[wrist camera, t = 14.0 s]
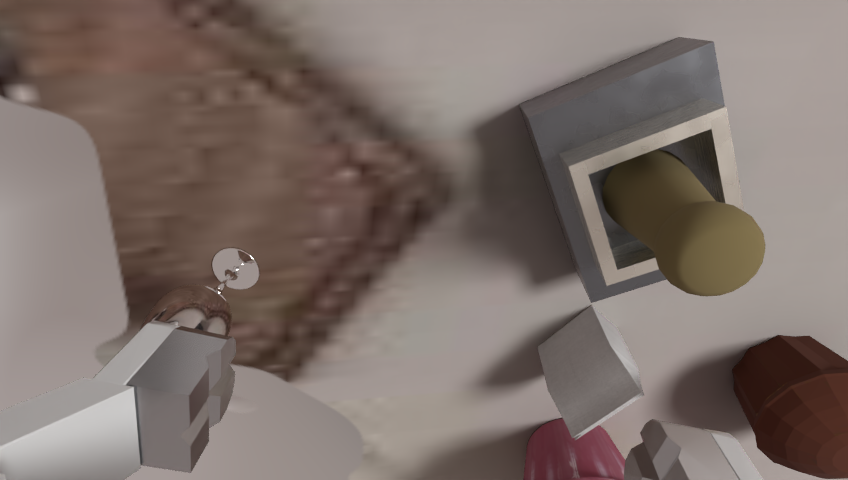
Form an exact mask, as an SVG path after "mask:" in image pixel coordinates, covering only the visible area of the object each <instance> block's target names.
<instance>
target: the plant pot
mask: <svg viewBox="0 0 848 480" xmlns="http://www.w3.org/2000/svg"><path fill="white" fill-rule="evenodd" d="M624 468H625V459H624V458H623V456H622V455H621V453H620V452H619V450H618V449H617V447H616V446H615V444H614V443H613V441H612V440H611V438H610V436H609V435H608V433H607V432H606V431H605V430H604V429H603V428H602V427H601V426H599V425H598V426H596V427H595V428H593V429H592V430H590V431H589V432H587V433H586V434H584V435H583V436H581V437H579V438H578V439H576V440H575V437H574V438H572V437H571V435H570V432H569V430H568V428H567V426H566V424H565V422H564V420H563V418H562V419H557V420H553V421H551V422H548V423H546V424H544V425H542V426H541V427H539V428H538V429H537V430H536V431H535V432H534V433H533V434H532V436H531V437H530V439H529V441H528V445H527V452H526V461H525V470H524V480H624Z"/></svg>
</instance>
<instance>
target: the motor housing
mask: <svg viewBox="0 0 848 480" xmlns="http://www.w3.org/2000/svg"><path fill="white" fill-rule="evenodd" d="M519 106H520V109H521V112H522V115H523V118H524V120H525V123H526V126H527V129H528V132H529V135H530V138H531V141H532V144H533V147H534V149H535V152H536V155H537V158H538V161H539V164H540V167H541V170H542V173H543V175H544V178H545V181H546V184H547V187H548V190H549V193H550V196H551V199H552V201H553V204H554V207H555V210H556V213H557V216H558V219H559V222H560V225H561V228H562V230H563V233H564V236H565V239H566V242H567V245H568V248H569V251H570V254H571V256H572V259H573V262H574V265H575V268H576V271H577V273H578V276H579V278H580V280H581V282H582V284H583V286H584V288H585V290H586V293H587V295H588V297H589V299H590V301H591V303H592V302H596V301H599V300H602V299H605V298H608V297H612V296H615V295H618V294H621V293H624V292H628V291H631V290H634V289H637V288H640V287H644V286H647V285H650V284H653V283H656V282H660V281H663V280H666V277H665V276H664V275H663V274H662V272H661V271H660V270H659V268H658V265H657V261H656V258H655V254H654V251H652V250H651V249H650V248H648V247H647V246H646V245H645V244H643V243H642V242H641V241H639V240H638V239H637V238H635V237H634V236H633V235H632V234H630V233H629V232H628V231H626V230H625V229H624V228H623V227H621V226H620V225H619V224H617V223H616V222H615V221H613V219H612V218H611V217H610V216H609V215H608V213H607V212H606V210H605V207H604V204H603V201H602V199H603V187H604V184H605V181H606V179H607V176H608V175H609V173H610V172H611V171H612V170H613V168H614V167H615V166H616V165H617V164H618V163H621V162H623V161H626V160H629V159H631V158H634V157H637V156H639V155H642V154H645V153H648V152H650V151H653V150H656V149H659V150H664V151H668V152H671V153H672V154H674V155H676V156H677V157H679V158H680V159H681V160H682V161H683V162H684V164H685V165H686V166H687V167H688V168H689V170H690V171H691V172H692V173H693V174H694V175H695V177H696V178H697V179H698V180H699V181H700V183H701V184H702V185H703V186H704V187H705V189H706V190H707V191H708V192H709V193H710V194H711V196H712V197H713V198H714V199H715V200H716V202H721V203H726V204H730V205H734V206H736V207H737V208H739V209H741V210H742V211H744V208H743V202H742V196H741V190H740V184H739V179H738V173H737V167H736V161H735V155H734V149H733V143H732V138H731V132H730V126H729V120H728V114H727V108H726V106H725V105H724V99H723V93H722V88H721V82H720V76H719V70H718V64H717V59H716V53H715V47H714V42H712V41H705V40H697V39H690V38H682V37H679V38H676V39H674V40H671V41H669V42H667V43H664V44H662V45H660V46H657V47H655V48H652V49H650V50H648V51H645V52H643V53H640V54H638V55H636V56H633V57H631V58H629V59H626V60H624V61H621V62H619V63H617V64H614V65H612V66H609V67H607V68H605V69H602V70H600V71H597V72H595V73H593V74H590V75H588V76H586V77H583V78H581V79H578V80H576V81H574V82H571V83H569V84H566V85H564V86H562V87H559V88H557V89H554V90H552V91H550V92H547V93H545V94H543V95H540V96H538V97H535V98H533V99H531V100H528V101H526V102H523V103H521V104H519Z"/></svg>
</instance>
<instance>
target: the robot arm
mask: <svg viewBox="0 0 848 480" xmlns="http://www.w3.org/2000/svg"><path fill="white" fill-rule="evenodd" d="M235 354H236V351H235V339H234V338H233V337H230V336H225V335H221V334H216V333H212V332H207V331H203V330H198V329H194V328H189V327H184V326H177V325H173V324H168V323H164V322H159V321H152V322H149V323H147V324H146V325H145V326H144V327H143V328H142V329H141V330H140V331H139V332H138V333H137V334H136V335H135V336H134V337H133V338H132V339H131V340H130V341H129V342H128V343H127V344H126V345H125V346H124V347H123V348H122V349H121V350H120V351H119V352H118V353H117V354H116V355H115V356H114V357H113V358H112V359H111V360H110V361H109V362H108V363H107V364H106V365H105V366H104V367H103V369H102V370H101V371H100V372H99V373H98V374H97V375H96V376H95V377H94V378H93V379H89V378H84V377H83V378H81V379H78V380H76V381H73V382H71V383H68V384H66V385H64V386H61V387H59V388H56V389H54V390H51V391H49V392H46V393H43V394H41V395H39V396H36V397H34V398H31V399H29V400H26V401H24V402H21V403H19V404H16V405H14V406H11V407H9V408H6V409H4V410H1V411H0V480H125V479H126V478H127V477H129V476H130V475H132V474H133V473H135V472H136V471H137V470H139V469H140V468H141V465H143V466H149V467H156V468H162V469H169V470H175V471H182V472H188V473H191V472H192V470H193V468H194V466H195V465H196V463H197V461H198V459H199V458H200V456H201V454H202V452H203V451H204V449H205V447H206V445H207V444H208V442H209V428H210V427H212V426H214V425H215V424H217V423H219V422H220V421H221V419H222V417H223V415H224V413H225V411H226V410H227V407H228V404H229V401H230V399H231V396H232V392H233V387H234V381H235V372H234V371H233V369H232V367H231V366H230V365H229V364H230V362H231V361H232V359H233V357H234V356H235ZM640 434H641V436H642V439H643V443H641V444H639V445H637V446H635V447H634V448H632V449H631V450H630V452H629V454H628V456H627V458H626V460H625V468H624V480H763V478H762V477H761V475H760V474H759V472H758V471H757V469H756V468H755V466H754V465H753V463H752V462H751V460H750V459H749V457H748V456H747V454H746V453H745V451H744V450H743V448H742V447H741V445H740V444H739V442H738V441H737V439H736V438H735V437H733V436H732V435H731V434H729V433H726V432H721V431H715V430H709V429H704V428H703V429H700V428H696V427H691V426H685V425H680V424H675V423H669V422H664V421H659V420H654V419H652V420H650V421H649V422H647V423H646V424H645V426H644V427H643V429H642V431H641V433H640Z"/></svg>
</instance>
